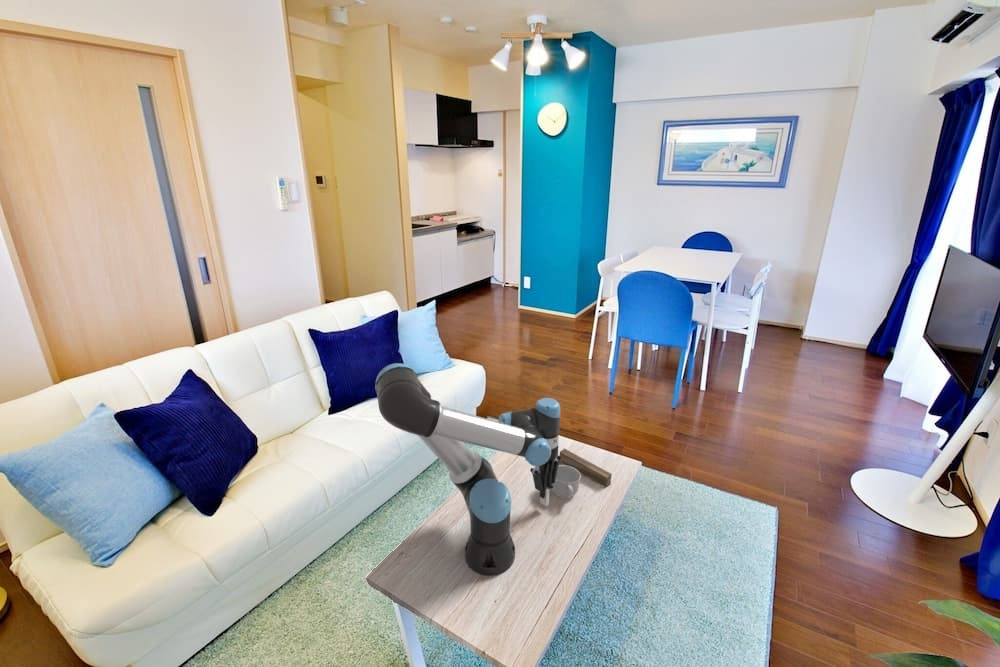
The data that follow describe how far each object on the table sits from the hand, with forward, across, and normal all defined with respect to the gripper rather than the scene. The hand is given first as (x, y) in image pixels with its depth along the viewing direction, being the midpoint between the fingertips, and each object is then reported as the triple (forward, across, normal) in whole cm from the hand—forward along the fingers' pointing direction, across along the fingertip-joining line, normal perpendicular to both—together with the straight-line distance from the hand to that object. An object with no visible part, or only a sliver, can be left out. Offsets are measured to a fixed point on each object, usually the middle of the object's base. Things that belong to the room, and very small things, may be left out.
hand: (544, 503), depth 159 cm
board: (+3, +27, +3) cm, 27 cm away
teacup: (+3, +11, 0) cm, 12 cm away
